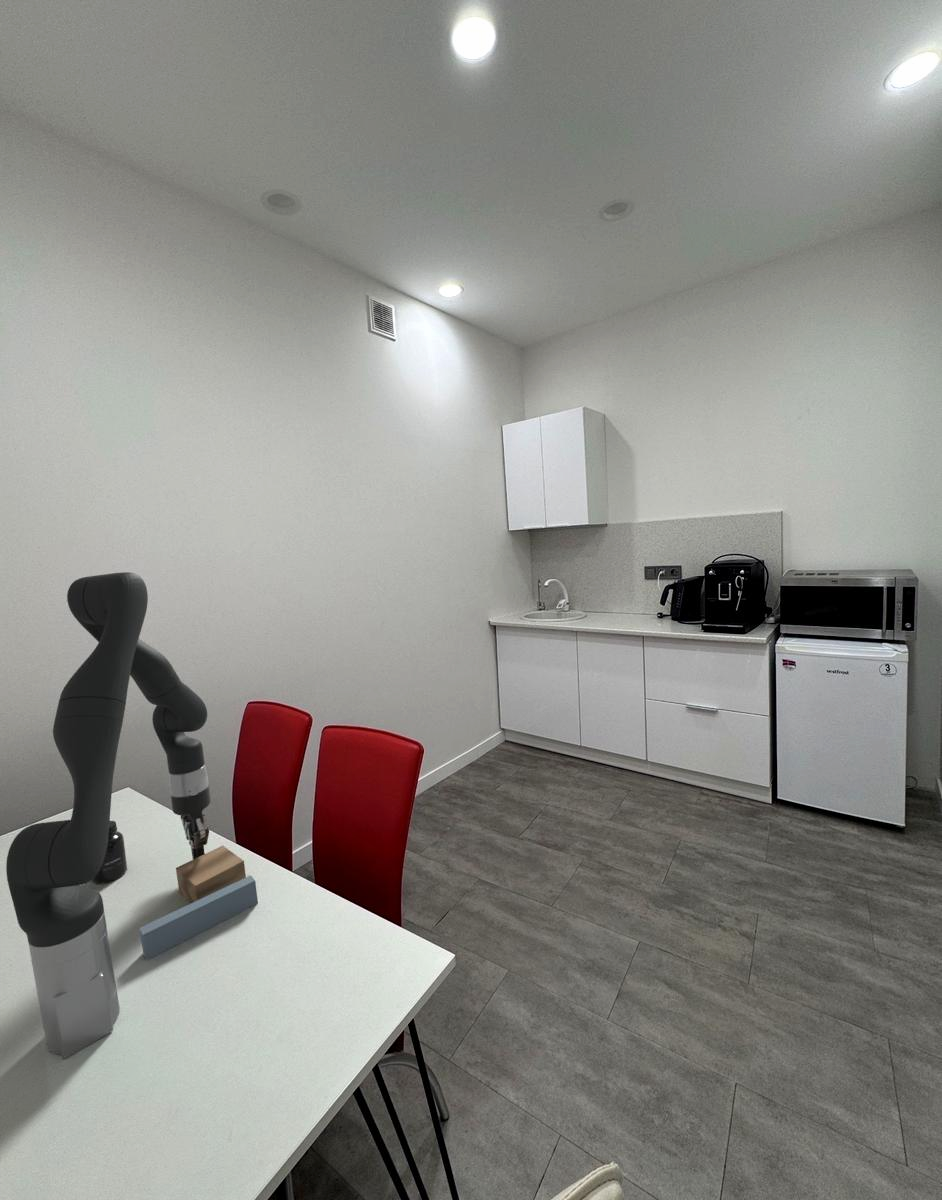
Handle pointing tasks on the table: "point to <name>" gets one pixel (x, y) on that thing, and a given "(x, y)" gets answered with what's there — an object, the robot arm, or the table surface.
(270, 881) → the table surface
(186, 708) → the robot arm
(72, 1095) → the table surface
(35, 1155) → the table surface
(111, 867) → the supplement bottle
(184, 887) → the walnut block
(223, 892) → the slate board
